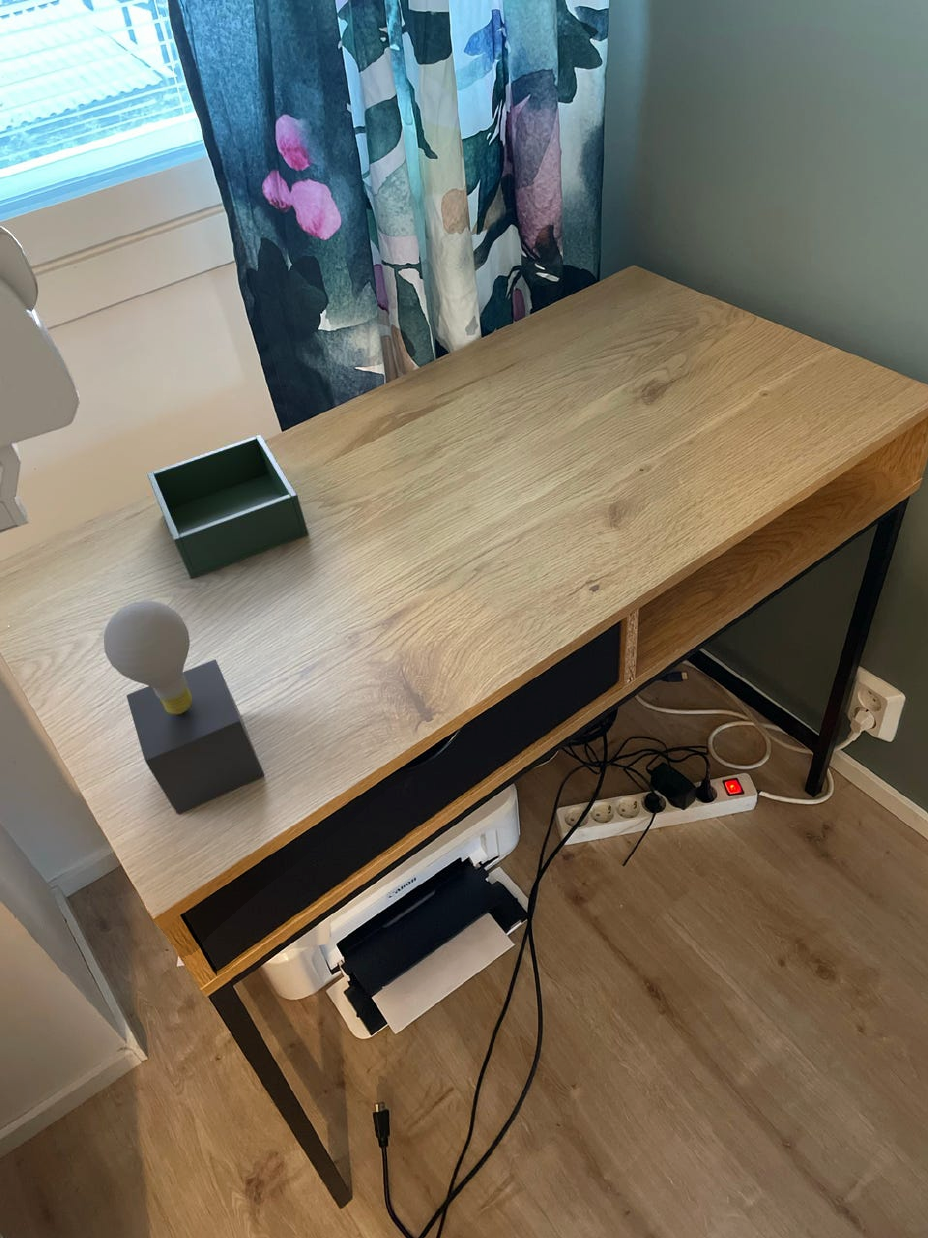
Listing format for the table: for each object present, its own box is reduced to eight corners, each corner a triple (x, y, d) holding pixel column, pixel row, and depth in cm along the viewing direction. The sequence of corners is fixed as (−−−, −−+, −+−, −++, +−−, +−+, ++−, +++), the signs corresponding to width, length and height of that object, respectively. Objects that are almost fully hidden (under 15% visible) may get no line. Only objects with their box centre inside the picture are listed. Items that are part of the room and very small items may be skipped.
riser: (177, 815, 68) (144, 761, 63) (157, 749, 72) (125, 694, 67) (265, 776, 70) (240, 721, 65) (240, 714, 74) (215, 658, 69)
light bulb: (228, 681, 67) (186, 585, 60) (202, 740, 64) (154, 645, 56) (161, 677, 68) (112, 582, 61) (132, 735, 65) (76, 640, 57)
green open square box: (190, 579, 87) (173, 540, 83) (163, 511, 95) (146, 473, 91) (308, 534, 90) (297, 494, 86) (272, 472, 98) (260, 434, 94)
